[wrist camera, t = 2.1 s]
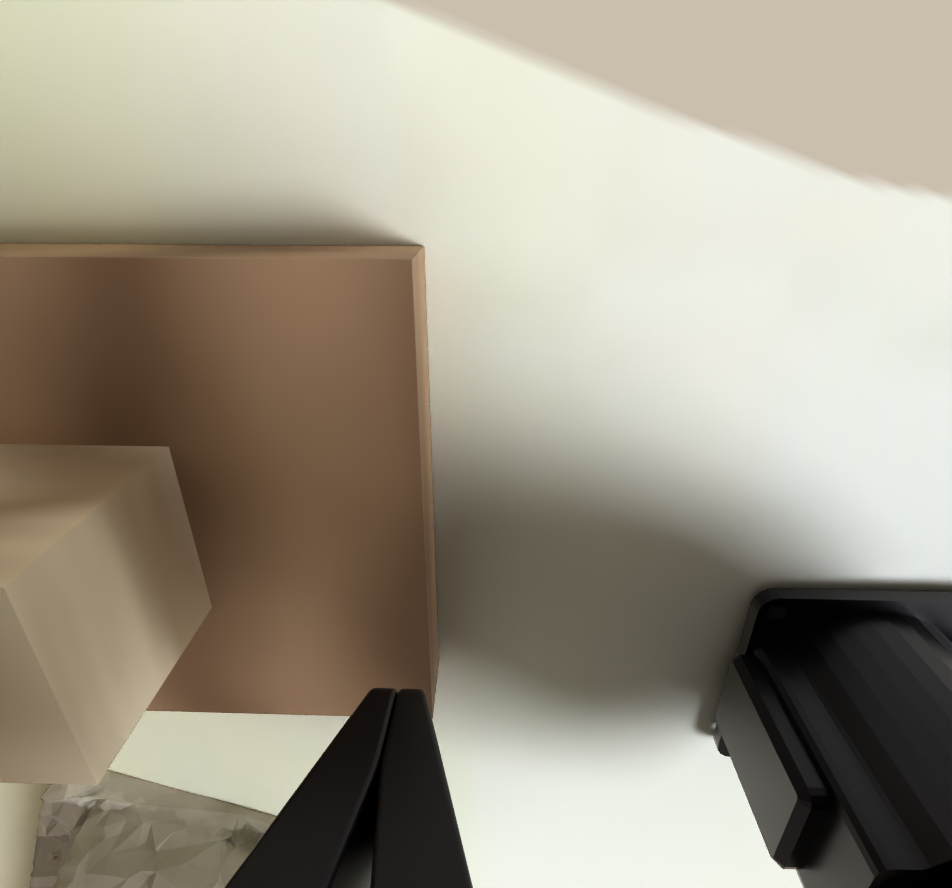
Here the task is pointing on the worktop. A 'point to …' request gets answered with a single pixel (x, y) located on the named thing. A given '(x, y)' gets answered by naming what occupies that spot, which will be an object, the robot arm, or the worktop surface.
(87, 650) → the birch block
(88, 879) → the packaged product
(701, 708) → the worktop surface
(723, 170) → the worktop surface
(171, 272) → the trap deck
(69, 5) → the worktop surface
